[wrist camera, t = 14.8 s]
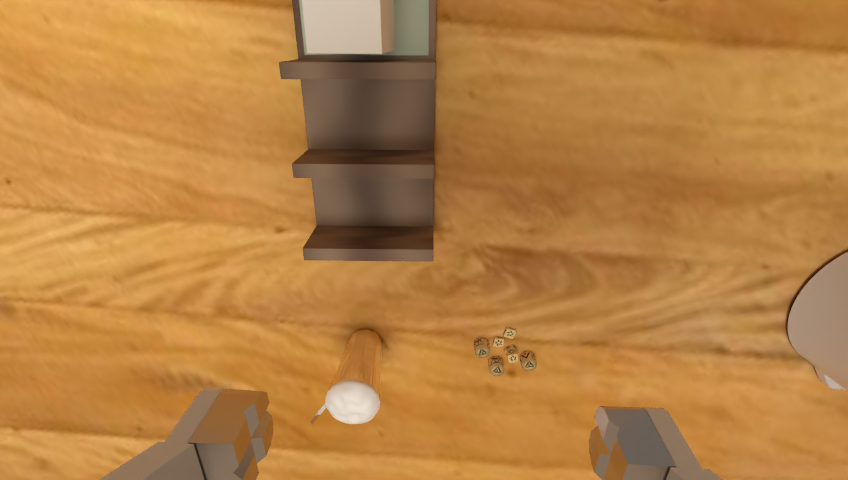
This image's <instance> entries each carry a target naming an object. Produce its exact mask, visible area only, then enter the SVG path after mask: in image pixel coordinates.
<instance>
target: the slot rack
mask: <svg viewBox="0 0 848 480" xmlns="http://www.w3.org/2000/svg"><path fill="white" fill-rule="evenodd" d="M292 3H293V12H294V21H295V31H296V40H297V49H298V58H299V59H298V60H291V61H284V62H279V66H280V74H281V79H301V85H302V95H303V104H304V113H305V122H306V131H307V140H308V150H307V151H306V152H305V153H304V154H303V155H301V156H300V157H299V158H298V159H297V160H296V161H295V162H293V163H292V168H293V176H294V178H312V186H313V195H314V204H315V213H316V222H317V226H316V228H315V229H314V231H313V233H312V234H311V236H310V238H309V239H308V241H307V242H306V244H305V246H304V247H303V255H304V260H343V261H433V199H434V121H435V80H436V61H435V43H436V0H394V35H395V51H391V52H387V53H383V54H321V53H307V48H306V37H305V27H304V17H303V7H302V0H292Z"/></svg>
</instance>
